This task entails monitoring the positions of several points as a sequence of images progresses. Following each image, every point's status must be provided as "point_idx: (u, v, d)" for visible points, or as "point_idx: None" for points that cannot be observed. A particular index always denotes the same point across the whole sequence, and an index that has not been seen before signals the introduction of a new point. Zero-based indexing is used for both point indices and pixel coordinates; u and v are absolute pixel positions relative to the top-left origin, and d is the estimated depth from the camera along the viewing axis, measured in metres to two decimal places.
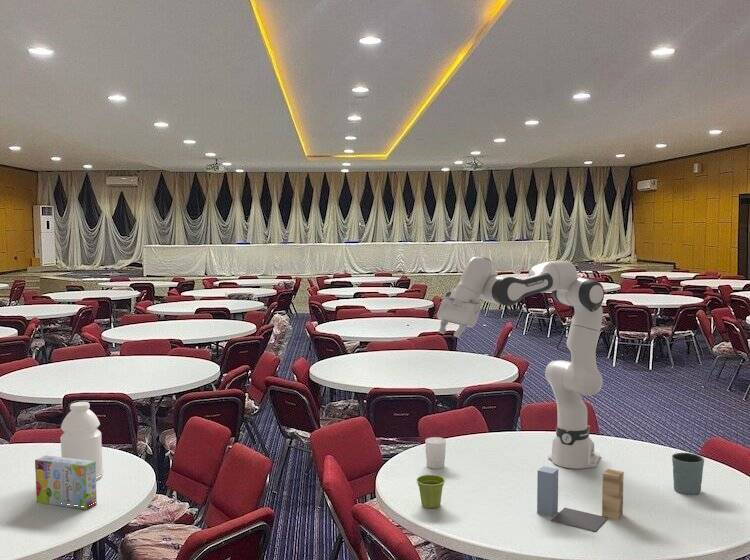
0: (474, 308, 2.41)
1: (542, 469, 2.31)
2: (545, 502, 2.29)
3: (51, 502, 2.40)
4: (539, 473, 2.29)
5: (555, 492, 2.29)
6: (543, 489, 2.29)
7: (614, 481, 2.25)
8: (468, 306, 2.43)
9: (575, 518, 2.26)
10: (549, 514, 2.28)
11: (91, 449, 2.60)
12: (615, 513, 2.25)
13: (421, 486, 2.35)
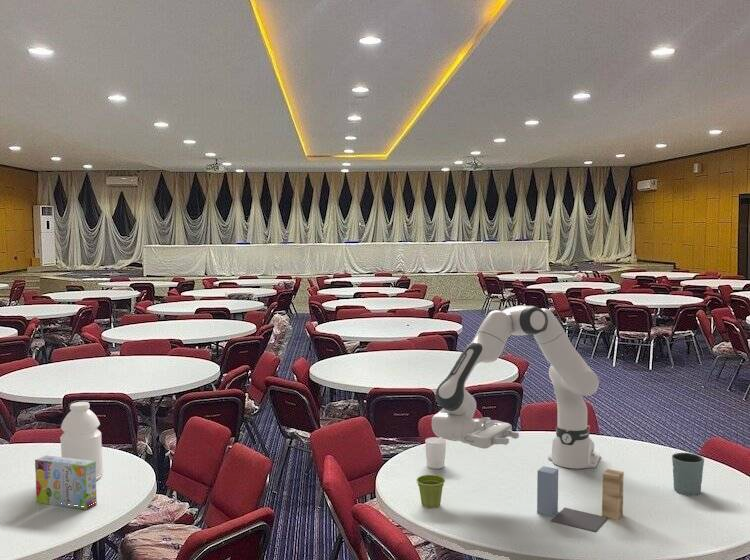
0: (470, 443, 2.35)
1: (542, 469, 2.30)
2: (545, 502, 2.29)
3: (51, 502, 2.40)
4: (539, 473, 2.29)
5: (555, 492, 2.29)
6: (543, 489, 2.29)
7: (614, 481, 2.25)
8: None
9: (575, 518, 2.26)
10: (549, 514, 2.28)
11: (91, 449, 2.60)
12: (615, 513, 2.25)
13: (421, 486, 2.35)
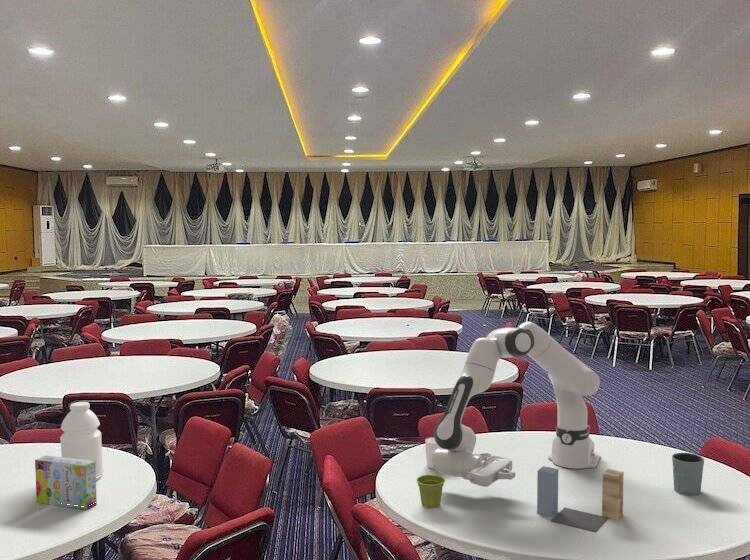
0: (471, 480, 2.36)
1: (542, 469, 2.30)
2: (545, 502, 2.29)
3: (51, 502, 2.40)
4: (539, 473, 2.29)
5: (555, 492, 2.29)
6: (543, 489, 2.29)
7: (614, 481, 2.25)
8: None
9: (575, 518, 2.26)
10: (549, 514, 2.28)
11: (91, 449, 2.60)
12: (615, 513, 2.25)
13: (421, 486, 2.35)
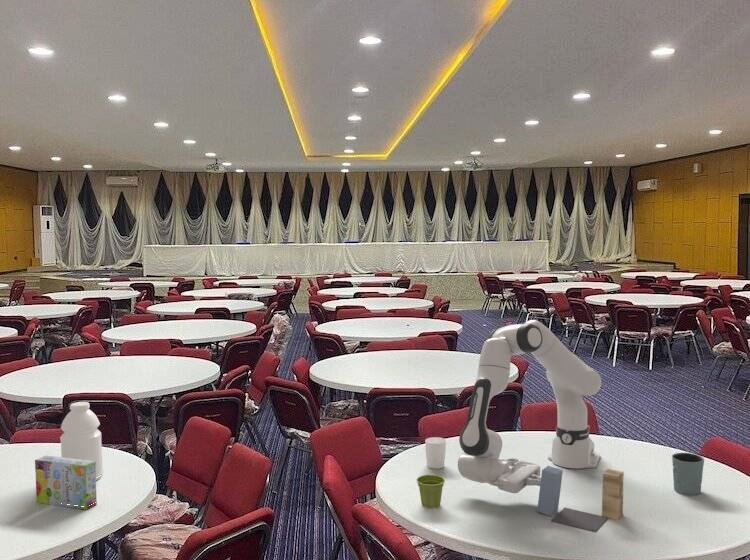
0: (499, 487, 2.30)
1: (546, 469, 2.30)
2: (546, 502, 2.29)
3: (51, 502, 2.40)
4: (543, 473, 2.28)
5: (557, 493, 2.29)
6: (546, 489, 2.28)
7: (614, 481, 2.25)
8: None
9: (575, 518, 2.26)
10: (549, 514, 2.28)
11: (91, 449, 2.60)
12: (615, 513, 2.25)
13: (421, 486, 2.35)
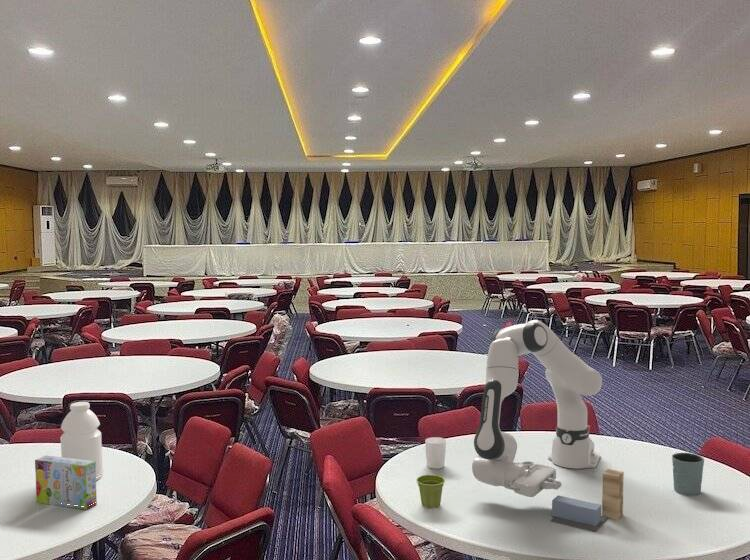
0: (515, 490, 2.27)
1: (598, 511, 2.21)
2: (564, 511, 2.25)
3: (51, 502, 2.40)
4: (593, 511, 2.20)
5: None
6: (577, 513, 2.23)
7: (614, 481, 2.25)
8: None
9: None
10: (553, 513, 2.27)
11: (91, 449, 2.60)
12: (615, 513, 2.25)
13: (421, 486, 2.34)
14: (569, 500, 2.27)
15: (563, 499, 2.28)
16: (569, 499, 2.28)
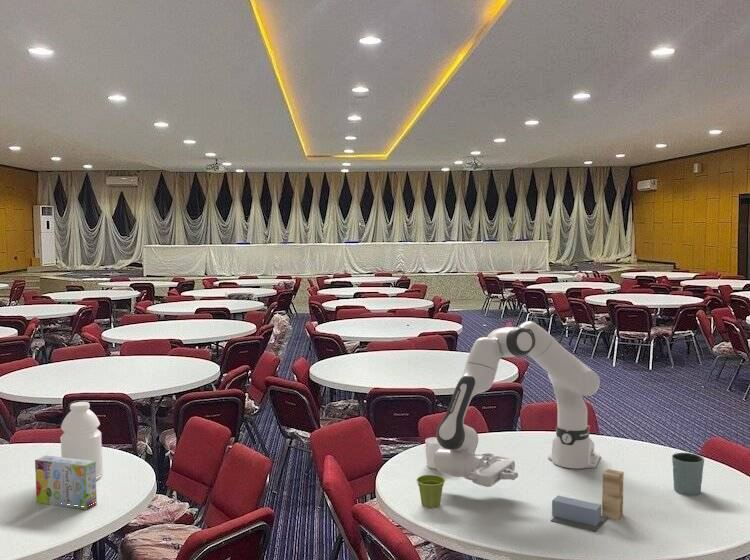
0: (473, 481, 2.35)
1: (598, 511, 2.21)
2: (564, 511, 2.25)
3: (51, 502, 2.40)
4: (593, 511, 2.20)
5: None
6: (577, 513, 2.23)
7: (614, 481, 2.25)
8: None
9: None
10: (553, 513, 2.27)
11: (91, 449, 2.60)
12: (615, 513, 2.25)
13: (421, 486, 2.34)
14: (569, 500, 2.27)
15: (563, 499, 2.28)
16: (569, 499, 2.28)
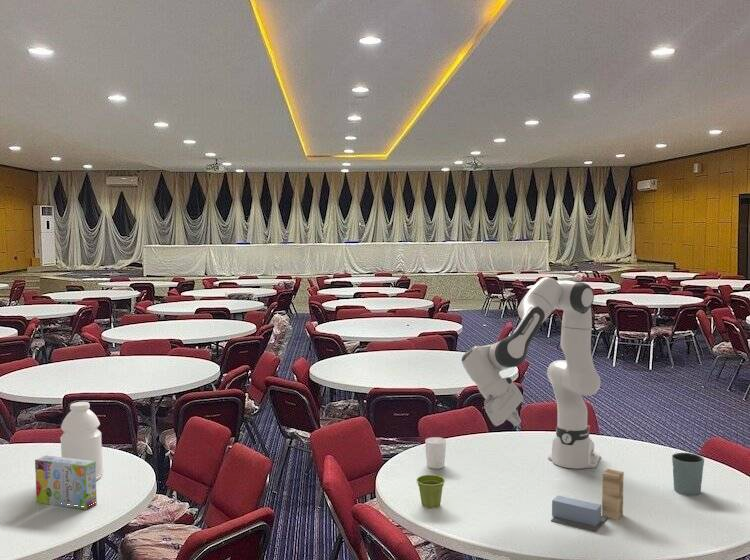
0: (487, 410, 2.38)
1: (598, 511, 2.21)
2: (564, 511, 2.25)
3: (51, 502, 2.40)
4: (593, 511, 2.20)
5: None
6: (577, 513, 2.23)
7: (614, 481, 2.25)
8: None
9: None
10: (553, 513, 2.27)
11: (91, 449, 2.60)
12: (615, 513, 2.25)
13: (421, 486, 2.34)
14: (569, 500, 2.27)
15: (563, 499, 2.28)
16: (569, 499, 2.28)
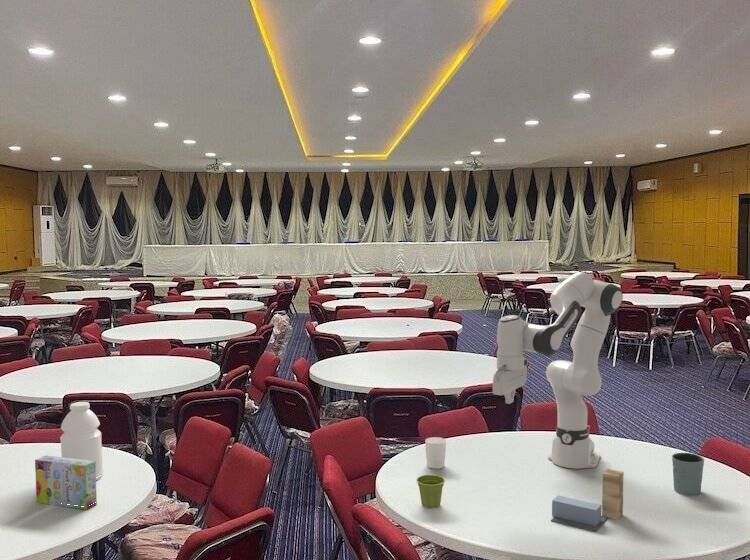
0: (495, 376, 2.39)
1: (598, 511, 2.21)
2: (564, 511, 2.25)
3: (51, 502, 2.40)
4: (593, 511, 2.20)
5: None
6: (577, 513, 2.23)
7: (614, 481, 2.25)
8: None
9: None
10: (553, 513, 2.27)
11: (91, 449, 2.60)
12: (615, 513, 2.25)
13: (421, 486, 2.35)
14: (569, 500, 2.27)
15: (563, 499, 2.28)
16: (569, 499, 2.28)
